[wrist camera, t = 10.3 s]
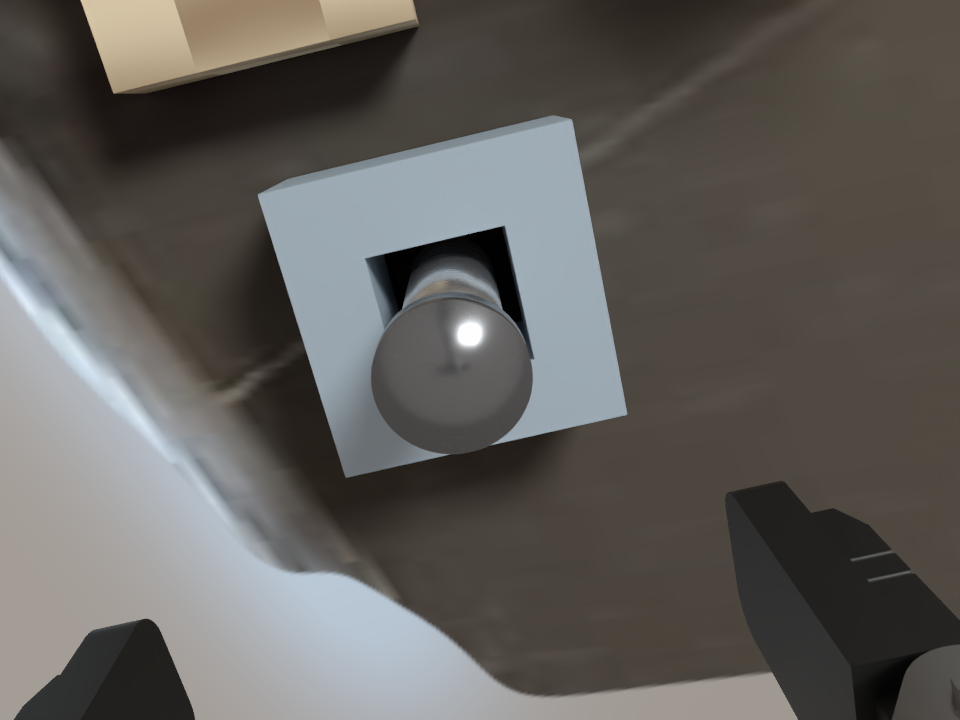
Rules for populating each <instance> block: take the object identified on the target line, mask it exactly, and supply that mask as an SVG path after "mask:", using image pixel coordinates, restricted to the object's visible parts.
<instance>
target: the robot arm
mask: <svg viewBox="0 0 960 720" xmlns="http://www.w3.org/2000/svg"><path fill="white" fill-rule="evenodd" d="M725 503H726V513H727V519H728V526H729V533H730V539H731V546H732V553H733V559H734V566H735V573H736V579H737V586H738V592H739V597H740V601H741V605H742V609H743V612H744V615H745V618H746V621H747V624H748V626H749V629H750V631H751V634H752V636H753V638H754V640H755V642H756V644H757V645H758V647H759V649H760V651H761V653H762V654H763V656H764V658H765V660H766V662H767V664H768V665H769V667H770V669H771V671H772V673H773V674H774V676H775V678H776V680H777V682H778V684H779V685H780V687H781V689H782V690H783V693H784V695H785V696H786V698H787V700H788V702H789V704H790V705H791V707H792V709H793V711H794V713H795V715H796V716H797V718H798V720H960V620H959V619H958V618H957V617H956V616H955V615H954V614H953V613H952V612H951V611H950V610H949V609H948V608H947V607H946V606H945V605H944V604H943V603H942V601H941V600H940V599H939V598H938V597H937V596H936V595H935V594H934V593H933V592H932V591H931V590H930V589H929V588H928V587H927V586H926V585H925V584H924V583H923V582H922V581H921V579H920V578H919V577H918V576H917V575H916V574H912V573H911V571H910V568H909V567H908V566H907V565H906V564H905V563H904V562H903V561H902V560H901V559H900V557H899V556H898V555H897V554H896V553H894V554H893V553H892V551H891V548H890V547H889V546H888V545H887V544H886V543H885V542H884V541H883V540H882V539H881V538H880V537H879V535H878V534H877V533H876V532H875V531H874V530H873V529H872V528H871V527H870V526H869V525H868V524H865V523H863V522H861V521H859V520H857V519H855V518H853V517H851V516H849V515H847V514H844V513H842V512H840V511H838V510H836V509H834V508H832V509H828V510H823V511H819V512H814V513H810V511H809V510H808V509H807V508H806V507H805V505H804V504H803V503H802V502H801V501H800V500H799V498H798V497H797V496H796V495H795V494H794V492H793V491H792V490H791V489H790V488H789V487H788V485H787V484H786V483H785V482H783V481H778V482H773V483H769V484H764V485H760V486H755V487H751V488H746V489H741V490H737V491H732V492H728V493H727V494H726V499H725ZM14 720H195V717H194V712H193V709H192V706H191V703H190V701H189V698H188V696H187V694H186V691H185V689H184V686H183V684H182V682H181V679H180V677H179V674H178V672H177V670H176V667H175V665H174V663H173V660H172V658H171V655H170V653H169V651H168V648H167V646H166V643H165V641H164V639H163V636H162V634H161V632H160V630H159V628H158V627H157V625H156V624H155V623H154V622H153V621H151V620H149V619H142V620H138V621H133V622H129V623H124V624H119V625H114V626H110V627H105V628H101V629H96V630H93V631H91V632H90V633H89V634H88V635H87V636H86V637H85V639H84V640H83V642H82V643H81V645H80V646H79V648H78V649H77V651H76V652H75V654H74V655H73V657H72V658H71V660H70V661H69V663H68V664H67V666H66V667H65V669H64V670H63V672H62V673H61V675H57V676H56V677H55V678H54V679H52V680H51V681H50V682H49V683H48V684H47V685H46V686H45V687H44V688H43V689H41V690H40V691H39V692H38V693H37V694H36V695H35V696H34V697H33V698H32V699H30V701H28V702H27V703H26V704H25V705H24V706H23V707H22V709H21V710H20V712H19V713H18V714H17V716H16V717H15V719H14Z"/></svg>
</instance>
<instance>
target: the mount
mask: <svg viewBox="0 0 960 720" xmlns="http://www.w3.org/2000/svg"><path fill="white" fill-rule="evenodd" d="M81 2H82V5H83V8H84V11H85V14H86V17H87V20H88V22H89V25H90V28H91V31H92V34H93V37H94V39H95V42H96V45H97V48H98V51H99V54H100V56H101V59H102V62H103V65H104V68H105V71H106V74H107V76H108V79H109V82H110V85H111V88H112V91H113V93H150V92H154V91H159V90H163V89H167V88H171V87H175V86H179V85H183V84H187V83H191V82H195V81H199V80H203V79H207V78H211V77H215V76H219V75H223V74H228V73H232V72H236V71H240V70H244V69H248V68H252V67H256V66H260V65H264V64H268V63H272V62H276V61H280V60H284V59H288V58H293V57H297V56H301V55H305V54H309V53H313V52H317V51H321V50H325V49H329V48H333V47H337V46H341V45H345V44H349V43H353V42H358V41H362V40H366V39H370V38H374V37H378V36H382V35H386V34H390V33H394V32H398V31H402V30H406V29H410V28H414V27H418V26H419V23H418V19H417V15H416V11H415V6H414V2H413V0H81Z"/></svg>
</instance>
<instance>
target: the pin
mask: <svg viewBox="0 0 960 720" xmlns="http://www.w3.org/2000/svg"><path fill="white" fill-rule="evenodd" d="M532 385H533V371H532V364H531V360H530V356H529V353H528V349H527V346H526V343H525V340H524V338H523V335H522V333H521V331H520V330H519V328H518V326H517V325H516V323H515V322H514V321H513V320H512V319H511V317H510V316H509V315H508V314H507V313H506V312H504V311H503V309H502V305H501V301H500V296H499V292H498V288H497V283H496V279H495V274H494V270H493V266H492V263H491V261H490V258H489V257H488V255H487V253H486V252H485V251H484V250H483V249H482V248H481V247H480V246H479V245H478V244H477V243H475V242H473V241H472V240H470V239H467V238H464V237H460V236H458V237H454V238H450V239H445V240H441V241H437V242H433V243H428V244H427V245H425V246H424V247H423V248H422V249H421V250H420V252H419V253H418V254H417V256H416V258H415V260H414V262H413V265H412V269H411V273H410V278H409V282H408V286H407V290H406V295H405V299H404V303H403V307H402V310H401V311H399V312H398V313H397V314H396V315H395V316H394V317H393V318H392V319H391V321H390V322H389V323H388V325H387V326H386V328H385V329H384V331H383V333H382V335H381V337H380V340H379V343H378V345H377V348H376V352H375V355H374V358H373V363H372V368H371V387H372V393H373V397H374V400H375V403H376V406H377V408H378V410H379V412H380V414H381V416H382V417H383V419H384V420H385V422H386V423H387V424H388V426H389V427H390V428H391V429H392V430H393V431H394V432H395V433H396V434H398V435H399V436H400V437H401V438H402V439H404V440H406V441H407V442H409V443H410V444H412V445H414V446H416V447H418V448H421V449H424V450H427V451H430V452H435V453H440V454H463V453H470V452H474V451H477V450H480V449H483V448H485V447H487V446H490V445H492V444H493V443H495V442H497V441H498V440H500V439H501V438H502V437H504V436H505V435H506V434H507V433H508V432H510V431H511V430H512V429H513V428H514V426H515V425H516V424H517V423H518V421H519V420H520V419H521V417H522V415H523V413H524V412H525V410H526V407H527V405H528V403H529V400H530V396H531V392H532Z"/></svg>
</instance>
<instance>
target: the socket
mask: <svg viewBox="0 0 960 720" xmlns="http://www.w3.org/2000/svg"><path fill="white" fill-rule="evenodd" d="M258 198H259V201H260V204H261V207H262V210H263V214H264V217H265V220H266V223H267V227H268V230H269V233H270V236H271V239H272V243H273V246H274V249H275V252H276V256H277V259H278V262H279V265H280V268H281V272H282V275H283V278H284V281H285V284H286V288H287V291H288V294H289V297H290V301H291V304H292V307H293V310H294V313H295V317H296V320H297V323H298V326H299V329H300V333H301V336H302V339H303V342H304V346H305V349H306V352H307V355H308V358H309V362H310V365H311V368H312V371H313V374H314V378H315V381H316V384H317V387H318V391H319V394H320V397H321V400H322V403H323V407H324V410H325V413H326V416H327V419H328V423H329V426H330V429H331V432H332V436H333V439H334V442H335V445H336V448H337V452H338V455H339V458H340V461H341V464H342V468H343V471H344V474H345V477H346V478H347V477H352V476H356V475H361V474H365V473H370V472H374V471H379V470H383V469H388V468H392V467H396V466H401V465H405V464H410V463H414V462H419V461H423V460H428V459H432V458H436V457H441V456H445V455H450V454H440V453H435V452H430V451H427V450H424V449H421V448H418V447H416V446H414V445H412V444H410V443H409V442H407V441H406V440H404V439H402V438H401V437H400V436H399V435H398V434H396V433H395V432H394V431H393V430H392V429H391V428H390V427H389V426H388V424H387V423H386V422H385V420H384V419H383V417H382V416H381V414H380V412H379V410H378V408H377V406H376V403H375V400H374V397H373V393H372V387H371V368H372V363H373V358H374V355H375V352H376V348H377V345H378V343H379V340H380V337H381V335H382V333H383V331H384V329H385V328H386V326H387V325H388V323H389V322H390V321H391V319H392V318H393V317H394V316H395V315H396V314H397V313H398V312H399V309H398V305H397V301H396V298H395V294H394V290H393V287H392V283H391V279H390V275H389V272H388V268H387V264H386V261H385V257H384V254H386V253H390V252H394V251H399V250H403V249H407V248H411V247H416V246H420V245H424V244H428V243H433V242H437V241H441V240H445V239H450V238H454V237H458V236H462V235H467V234H471V233H475V232H479V231H484V230H488V229H492V228H496V227H501V226H502V230H503V235H504V239H505V244H506V248H507V253H508V257H509V262H510V266H511V271H512V275H513V280H514V284H515V289H516V294H517V298H518V303H519V307H520V312H521V316H522V321H518V322H515V323H516V325H517V326H518V328H519V330H520V331H521V333H522V335H523V338H524V340H525V343H526V346H527V349H528V353H529V356H530V360H531V364H532V371H533V385H532V392H531V396H530V400H529V403H528V405H527V407H526V410H525V412H524V413H523V415H522V417H521V419H520V420H519V421H518V423H517V424H516V425H515V426H514V428H513V429H512V430H511V431H510V432H508V433H507V434H506V435H505V436H504V437H502V438H501V439H500V440H498V441H497V442H495V443H493V444H492V445H494V444H499V443H503V442H508V441H512V440H517V439H521V438H525V437H530V436H534V435H539V434H543V433H548V432H552V431H557V430H561V429H566V428H570V427H574V426H579V425H583V424H588V423H592V422H597V421H601V420H606V419H610V418H614V417H619V416H623V415H627V410H626V405H625V400H624V394H623V389H622V384H621V378H620V373H619V368H618V362H617V357H616V352H615V346H614V341H613V336H612V331H611V325H610V320H609V315H608V309H607V304H606V299H605V293H604V288H603V283H602V277H601V272H600V267H599V261H598V256H597V251H596V245H595V240H594V235H593V229H592V224H591V219H590V213H589V208H588V203H587V197H586V192H585V187H584V181H583V176H582V171H581V165H580V160H579V155H578V149H577V144H576V139H575V133H574V128H573V123H572V119H568V118H563V117H559V116H554V115H552V116H548V117H544V118H540V119H535V120H531V121H527V122H523V123H519V124H515V125H510V126H506V127H502V128H498V129H494V130H490V131H485V132H481V133H477V134H473V135H469V136H465V137H460V138H456V139H452V140H448V141H444V142H440V143H436V144H431V145H427V146H423V147H419V148H415V149H411V150H406V151H402V152H398V153H394V154H390V155H386V156H381V157H377V158H373V159H369V160H365V161H361V162H356V163H352V164H348V165H344V166H340V167H336V168H331V169H327V170H323V171H319V172H315V173H311V174H306V175H302V176H298V177H294V178H290V179H287V180H285V181H283V182H281V183H279V184H277V185H275V186H273V187H272V188H270V189H268V190H266V191H264V192H262V193H260V194H258Z"/></svg>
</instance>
